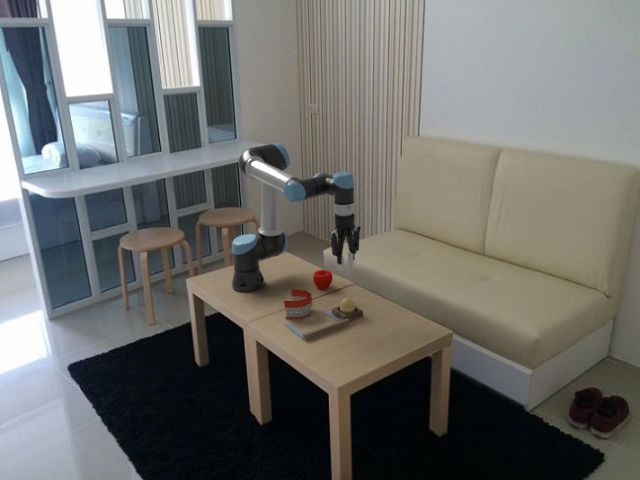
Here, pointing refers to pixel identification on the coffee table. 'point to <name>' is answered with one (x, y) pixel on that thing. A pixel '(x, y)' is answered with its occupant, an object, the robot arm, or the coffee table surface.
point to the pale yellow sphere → (347, 306)
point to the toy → (298, 304)
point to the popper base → (351, 316)
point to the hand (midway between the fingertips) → (346, 269)
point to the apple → (322, 279)
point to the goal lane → (321, 330)
